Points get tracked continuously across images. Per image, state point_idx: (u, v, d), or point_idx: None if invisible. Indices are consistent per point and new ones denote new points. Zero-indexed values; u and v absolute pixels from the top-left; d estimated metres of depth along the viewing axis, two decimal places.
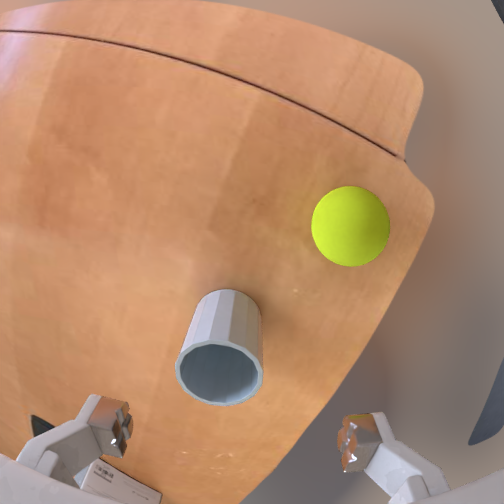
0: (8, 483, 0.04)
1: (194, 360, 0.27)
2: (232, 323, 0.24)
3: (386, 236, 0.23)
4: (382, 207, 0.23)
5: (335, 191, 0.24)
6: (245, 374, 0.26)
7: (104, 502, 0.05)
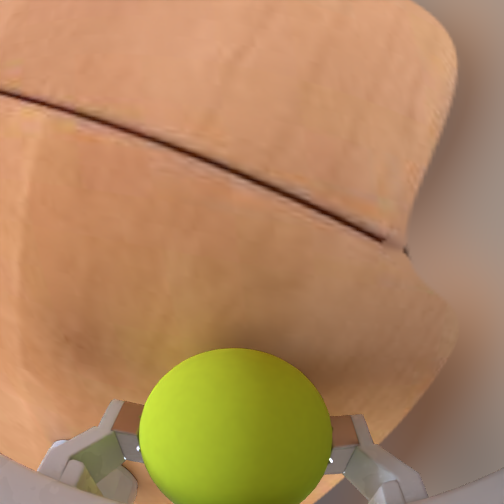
0: (8, 483, 0.04)
1: None
2: None
3: (309, 491, 0.07)
4: (305, 441, 0.07)
5: (176, 385, 0.08)
6: None
7: (104, 502, 0.05)
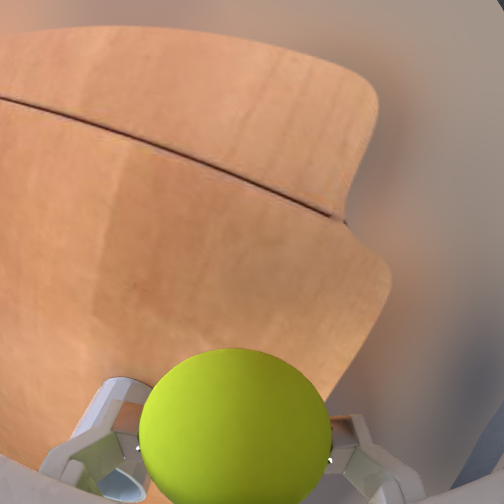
0: (8, 483, 0.04)
1: None
2: None
3: (309, 492, 0.07)
4: (304, 442, 0.07)
5: (176, 385, 0.08)
6: None
7: (104, 502, 0.05)
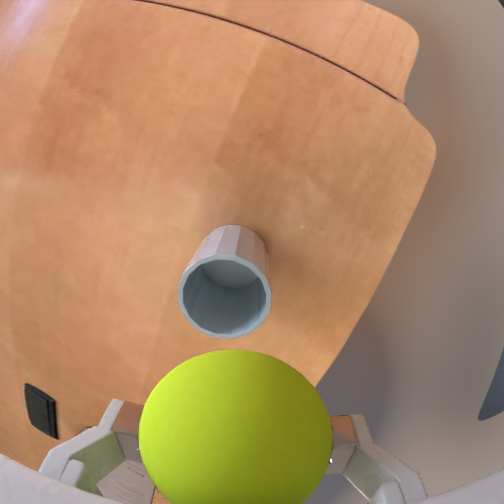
0: (8, 483, 0.04)
1: (198, 294, 0.27)
2: (239, 245, 0.24)
3: (309, 493, 0.07)
4: (305, 444, 0.07)
5: (176, 387, 0.08)
6: (251, 308, 0.26)
7: (104, 502, 0.05)
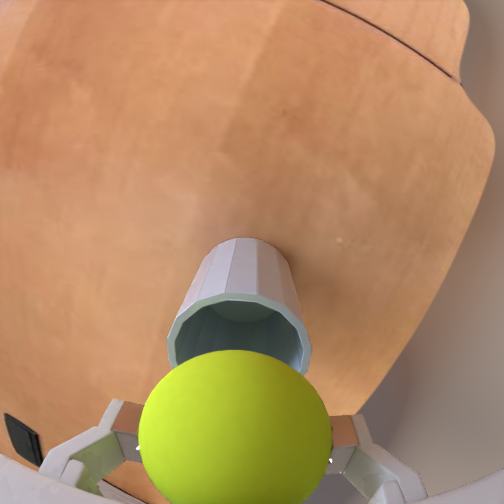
0: (8, 483, 0.04)
1: (197, 338, 0.18)
2: (260, 272, 0.16)
3: (309, 494, 0.07)
4: (304, 444, 0.07)
5: (176, 387, 0.08)
6: (275, 358, 0.18)
7: (104, 502, 0.05)
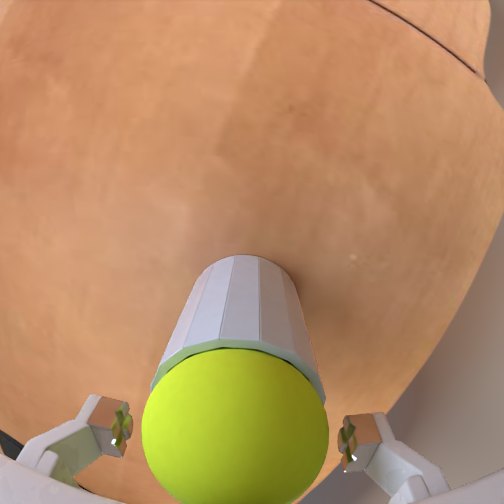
0: (8, 483, 0.04)
1: None
2: (263, 305, 0.13)
3: (307, 487, 0.08)
4: (302, 438, 0.08)
5: (178, 383, 0.09)
6: None
7: (104, 502, 0.05)
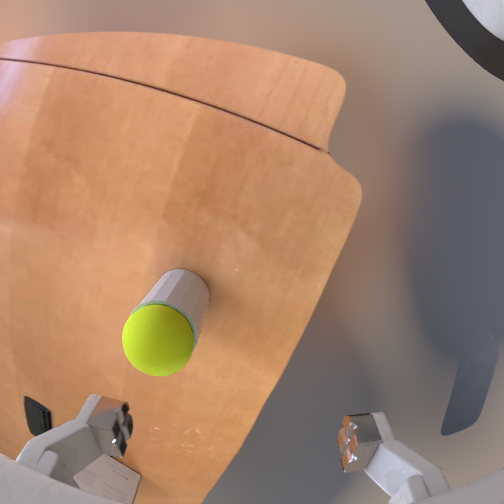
0: (8, 483, 0.04)
1: None
2: (174, 290, 0.30)
3: (177, 357, 0.25)
4: (171, 332, 0.24)
5: (135, 313, 0.26)
6: None
7: (104, 502, 0.05)
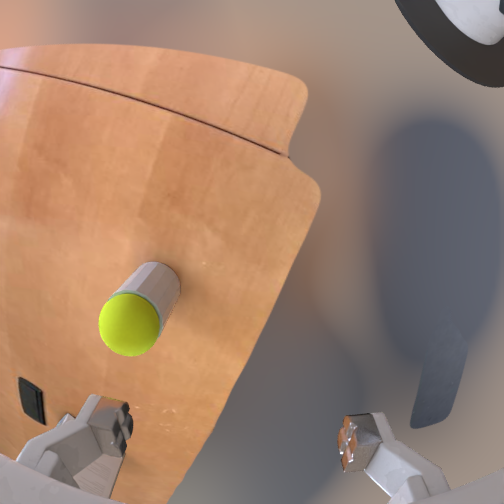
0: (8, 483, 0.04)
1: None
2: (145, 281, 0.33)
3: (143, 340, 0.28)
4: (138, 317, 0.28)
5: (109, 301, 0.29)
6: None
7: (104, 502, 0.05)
